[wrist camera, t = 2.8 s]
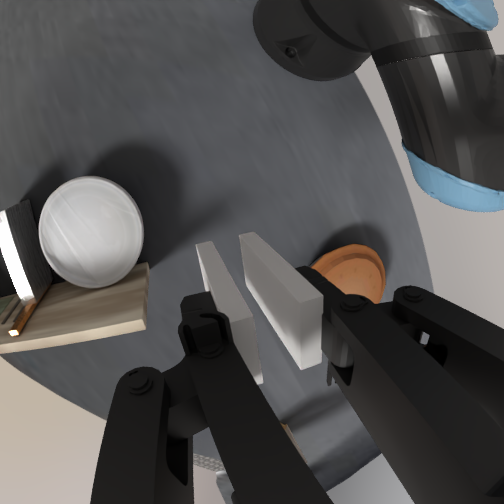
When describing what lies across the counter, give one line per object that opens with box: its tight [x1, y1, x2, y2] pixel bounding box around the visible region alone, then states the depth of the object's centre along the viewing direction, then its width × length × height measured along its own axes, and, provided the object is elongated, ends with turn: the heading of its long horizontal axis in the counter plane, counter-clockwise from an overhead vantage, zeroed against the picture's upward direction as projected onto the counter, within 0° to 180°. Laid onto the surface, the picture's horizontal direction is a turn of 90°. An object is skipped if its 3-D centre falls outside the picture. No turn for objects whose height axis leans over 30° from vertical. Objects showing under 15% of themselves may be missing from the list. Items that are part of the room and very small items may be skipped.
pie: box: [309, 244, 386, 304], centre depth 38 cm, size 15×16×5 cm
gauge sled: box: [0, 199, 53, 336], centre depth 21 cm, size 10×2×11 cm, turn 7°
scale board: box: [0, 262, 150, 354], centre depth 23 cm, size 1×26×12 cm, turn 97°
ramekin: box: [39, 176, 144, 288], centre depth 25 cm, size 11×11×5 cm
